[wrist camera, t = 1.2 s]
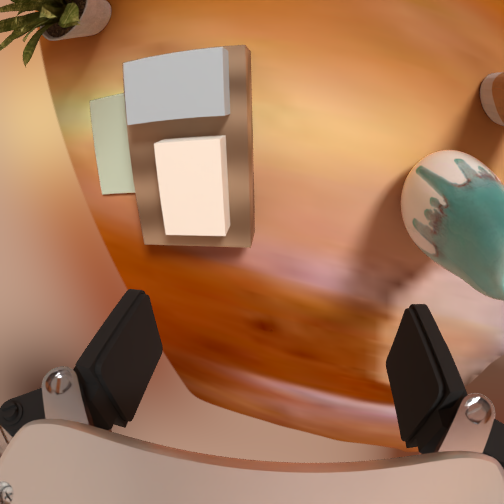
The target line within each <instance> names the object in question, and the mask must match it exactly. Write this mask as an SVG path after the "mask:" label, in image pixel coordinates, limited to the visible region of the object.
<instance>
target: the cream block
mask: <svg viewBox="0 0 504 504" xmlns="http://www.w3.org/2000/svg"><path fill="white" fill-rule="evenodd" d="M154 150H155V159H156V168H157V176H158V184H159V192H160V200H161V207H162V213H163V220H164V227H165V233H166V235H197V236H226V234H227V232H228V229H229V227H230V211H229V193H228V174H227V154H226V135H221V136H200V137H184V138H172V139H163V140H161V141H159V142H156V143H154Z"/></svg>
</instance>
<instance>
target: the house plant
mask: <svg viewBox="0 0 504 504" xmlns="http://www.w3.org/2000/svg"><path fill="white" fill-rule="evenodd" d="M11 1H12V2H14V3H12V4H9V5H6V6H3V7H0V12H8V11H19V12H18V15H19V14H20V13H22V12H25V11H33V10H37V11H39V12H34V13H30V14H27V15H24V16H18V17H17V16H16V17H13V18H8V19H5V20H1V21H0V33H2V32H7V31H11V30H14V31H13V32H12V34H11V35H10V36H9V37H7V38H6V39H5V40H4V41H3V42H2V44H0V50H2V49H3V48H5V47H6V46H7V45H8V44H10V43H11V42H12V41H13V40H14V39H16V38H18V37H20V36H22V35H24V34H25V33H27V32H28V34H27V35H26V36H25V37H24V39H23V41H24V42H25V40H26V39H27V37H28V35H29V34H30V33H31V32H32V31H33V30H34V29H35V28H37V27H40V30H38V31H37V32H36V33H35V34H34V35H33V36H32V38H31V39H30V41H29V42H28V44H27V45H26V47H25V49H24V51H23V61H24V65H25V66H26V64H27V63H28V62H29V60H30V59H31V57H32V54H33V52H34V50H35V47H36V45H37V43H38V41H39V39H40V37H41V35H43V36H44V37H45V38H46V39H48V40H50V41H56V40H62V39H69V38H76V37H84V36H91V35H95V34H97V33H99V32H100V31H101V30H103V28H104V27H105V26H106V25H107V23H108V21H109V19H110V17H111V6H110V4H109V3H108V2H107V1H106V0H11ZM29 31H30V32H29Z"/></svg>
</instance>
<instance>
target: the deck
mask: <svg viewBox="0 0 504 504" xmlns="http://www.w3.org/2000/svg"><path fill="white" fill-rule="evenodd" d="M212 48H216V47H212ZM223 48H225V49H226V50H227V51H228V60H229V92H230V114H228V115H225V116H209V117H195V118H183V119H173V120H163V121H155V122H147V123H140V124H133V125H127V133H128V142H129V151H130V159H131V166H132V174H133V180H134V187H135V194H136V200H137V206H138V211H139V217H140V223H141V228H142V233H143V238H144V243H145V244H147V245H181V246H213V247H244V248H251V245H252V241H253V236H254V232H255V217H254V172H253V129H252V89H251V51H250V50H249V49H248V48H247V47H246V45H237V46H223ZM203 49H206V48H203ZM194 50H198V49H194ZM187 51H190V50H187ZM180 52H183V51H180ZM174 53H176V52H174ZM168 54H170V53H168ZM162 55H164V54H162ZM157 56H159V55H157ZM151 57H153V56H151ZM146 58H148V57H146ZM142 59H144V58H142ZM137 60H139V59H137ZM133 61H134V60H133ZM128 62H130V61H128ZM124 63H126V62H124ZM123 83H124V66H123ZM124 99H125V87H124ZM125 112H126V102H125ZM126 123H127V114H126ZM221 135H226V154H227V174H228V193H229V211H230V227H229V229H228V232H227V234H226V236H197V235H166V233H165V227H164V220H163V213H162V207H161V200H160V192H159V184H158V176H157V168H156V159H155V150H154V143H156V142H159V141H161V140H163V139H172V138H184V137H200V136H221Z"/></svg>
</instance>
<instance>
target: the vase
mask: <svg viewBox="0 0 504 504" xmlns="http://www.w3.org/2000/svg"><path fill="white" fill-rule="evenodd" d="M401 213H402V218H403V221H404V224H405V227H406V229H407V231H408V234H409V235H410V237H411V239H412V240H413V241H414V243H415V244H416V245H417V246H418V247H419V248H420V249H421V251H422V252H424V253H425V254H426V255H427V256H428V257H429V258H430V259H432V260H433V261H434V262H436V263H437V264H438V265H440V266H441V267H443V268H444V269H446V270H448V271H450V272H451V273H453V274H455V275H456V276H458V277H460V278H461V279H463V280H464V281H465V282H467V283H468V284H469V285H470V286H472V287H473V288H474V289H475V290H477V291H479V292H480V293H482V294H484V295H486V296H488V297H491V298H493V299H498V300H504V184H503V183H502V181H501V180H500V179H499V178H498V177H497V176H496V175H495V173H494V172H492V171H491V170H490V169H489V168H488V167H487V166H486V165H485V164H483V163H482V162H481V161H479V160H478V159H476V158H475V157H473V156H471V155H469V154H467V153H464V152H461V151H456V150H441V151H437V152H433V153H431V154H429V155H427V156H425V157H423V158H422V159H421V160H420V161H418V162H417V163H416V164H415V166H414V167H413V168H412V169H411V171H410V172H409V174H408V176H407V178H406V180H405V182H404V185H403V189H402V194H401Z"/></svg>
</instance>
